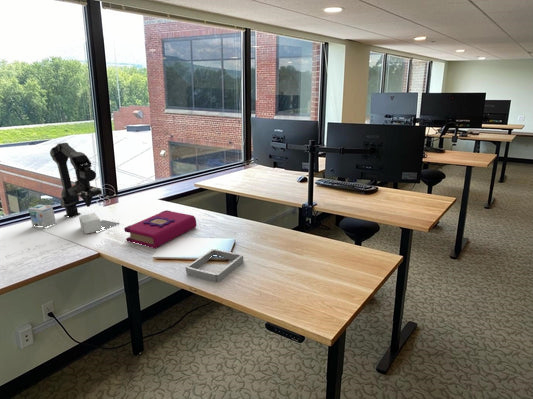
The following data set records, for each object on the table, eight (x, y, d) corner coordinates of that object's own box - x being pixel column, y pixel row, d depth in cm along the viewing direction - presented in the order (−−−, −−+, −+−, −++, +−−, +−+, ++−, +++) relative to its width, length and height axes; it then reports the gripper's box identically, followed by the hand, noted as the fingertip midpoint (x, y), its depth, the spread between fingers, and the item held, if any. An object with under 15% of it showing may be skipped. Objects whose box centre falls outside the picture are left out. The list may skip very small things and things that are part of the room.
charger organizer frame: (185, 274, 150) (184, 267, 149) (213, 254, 166) (212, 248, 165) (218, 282, 143) (217, 275, 142) (244, 261, 158) (243, 254, 158)
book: (197, 228, 197) (195, 214, 194) (156, 250, 174) (153, 234, 172) (167, 222, 207) (165, 209, 205) (125, 241, 185) (122, 227, 182)
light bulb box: (32, 226, 209) (27, 208, 206) (43, 222, 215) (38, 204, 212) (46, 228, 205) (41, 209, 202) (57, 224, 211) (52, 205, 208)
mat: (80, 229, 202) (80, 228, 202) (103, 220, 213) (103, 219, 213) (97, 233, 196) (97, 232, 196) (119, 223, 207) (119, 223, 207)
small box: (80, 227, 205) (85, 234, 194) (78, 215, 203) (82, 222, 192) (97, 223, 209) (102, 230, 198) (94, 212, 207) (99, 218, 197)
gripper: (57, 180, 197) (63, 209, 202) (80, 183, 189) (87, 213, 193) (76, 175, 206) (82, 202, 211) (99, 178, 198) (105, 206, 203)
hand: (88, 206), depth 204 cm, fingers closed
